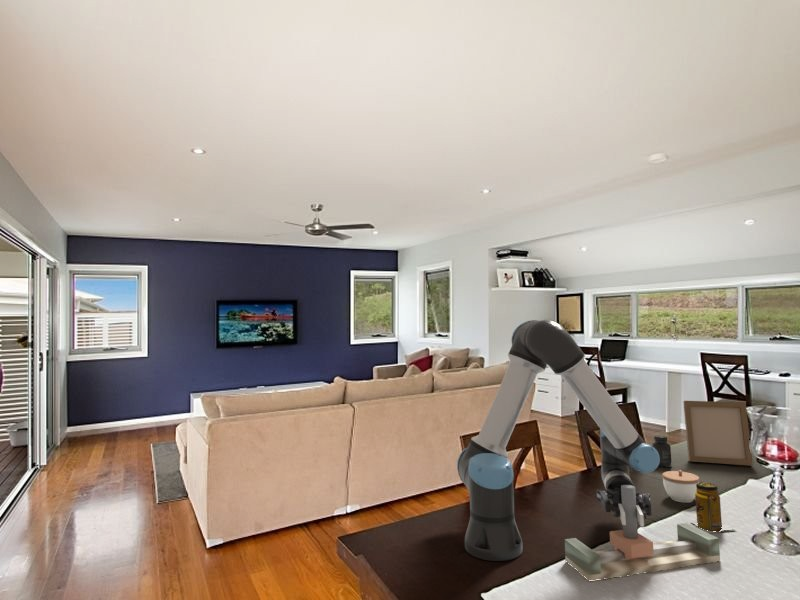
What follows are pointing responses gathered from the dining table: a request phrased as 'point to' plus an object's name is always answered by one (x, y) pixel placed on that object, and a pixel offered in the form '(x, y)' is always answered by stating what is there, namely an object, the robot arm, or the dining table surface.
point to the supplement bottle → (663, 451)
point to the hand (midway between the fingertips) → (632, 519)
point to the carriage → (630, 529)
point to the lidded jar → (680, 485)
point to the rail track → (667, 555)
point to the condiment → (708, 507)
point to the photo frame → (717, 432)
